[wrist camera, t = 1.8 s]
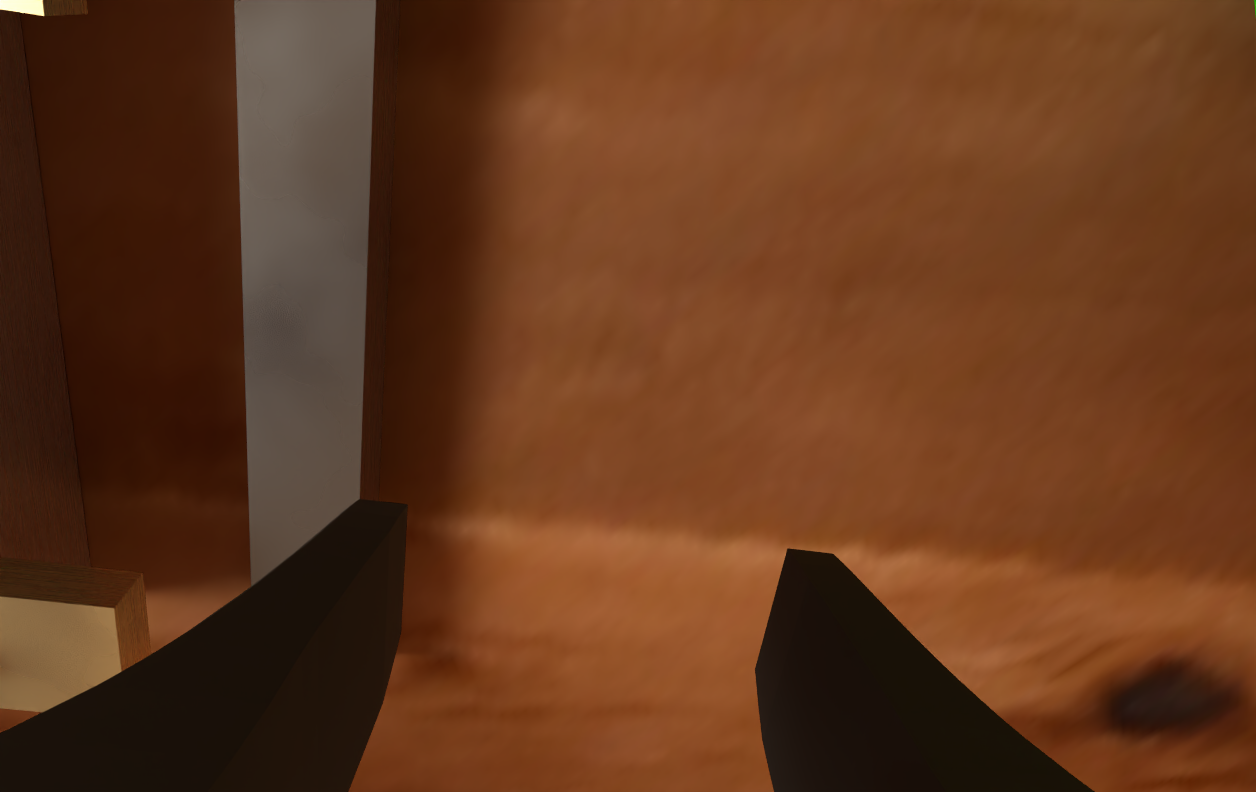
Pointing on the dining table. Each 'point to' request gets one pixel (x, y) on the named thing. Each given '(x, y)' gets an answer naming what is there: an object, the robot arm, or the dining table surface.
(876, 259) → the dining table surface
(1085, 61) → the dining table surface
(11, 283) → the heatsink
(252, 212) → the gray bar
